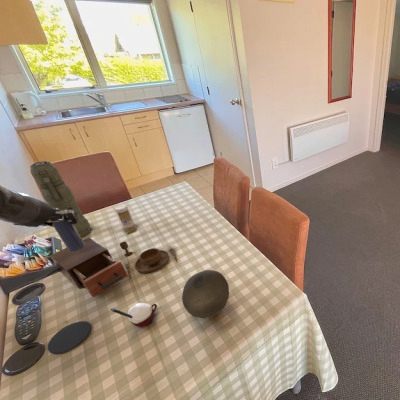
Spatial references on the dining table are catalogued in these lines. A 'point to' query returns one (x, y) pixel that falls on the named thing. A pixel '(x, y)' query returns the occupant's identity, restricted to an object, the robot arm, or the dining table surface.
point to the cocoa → (139, 314)
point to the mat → (69, 337)
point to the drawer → (100, 274)
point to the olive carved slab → (58, 193)
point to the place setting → (148, 259)
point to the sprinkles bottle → (125, 218)
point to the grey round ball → (205, 294)
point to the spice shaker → (69, 235)
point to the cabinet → (77, 258)
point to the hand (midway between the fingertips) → (66, 222)
